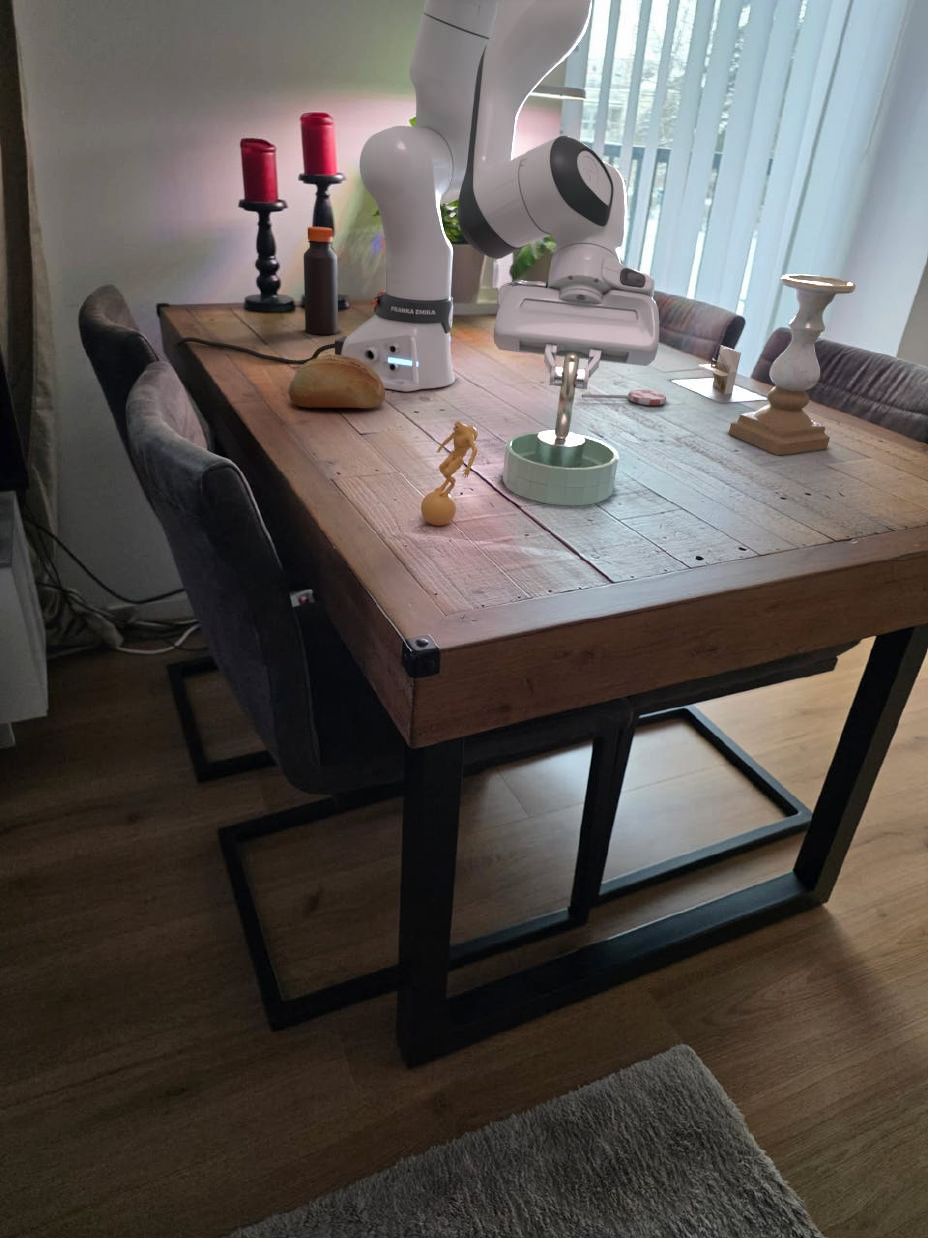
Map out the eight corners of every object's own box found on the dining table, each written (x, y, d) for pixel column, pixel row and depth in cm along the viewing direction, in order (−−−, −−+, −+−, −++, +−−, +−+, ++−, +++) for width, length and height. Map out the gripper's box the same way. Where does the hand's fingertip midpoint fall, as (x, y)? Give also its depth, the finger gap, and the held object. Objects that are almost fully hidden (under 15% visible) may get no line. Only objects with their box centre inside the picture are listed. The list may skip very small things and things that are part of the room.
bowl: (496, 500, 105) (500, 461, 103) (508, 462, 118) (512, 426, 115) (611, 513, 104) (618, 475, 102) (612, 473, 116) (617, 438, 114)
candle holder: (777, 455, 128) (821, 287, 116) (726, 433, 136) (763, 273, 124) (828, 448, 132) (876, 286, 121) (776, 427, 141) (816, 273, 129)
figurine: (409, 511, 100) (413, 411, 94) (456, 507, 103) (463, 408, 97) (434, 541, 94) (440, 435, 88) (484, 535, 96) (493, 431, 90)
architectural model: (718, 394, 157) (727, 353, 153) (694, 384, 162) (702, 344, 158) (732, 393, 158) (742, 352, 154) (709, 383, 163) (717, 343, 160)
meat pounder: (532, 465, 107) (546, 355, 100) (536, 450, 112) (549, 344, 105) (580, 471, 106) (597, 361, 99) (582, 455, 112) (598, 349, 105)
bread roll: (386, 418, 131) (387, 365, 127) (287, 415, 129) (285, 362, 125) (383, 400, 139) (384, 350, 135) (290, 397, 137) (288, 346, 133)
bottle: (335, 336, 177) (334, 231, 167) (302, 334, 177) (299, 228, 167) (340, 329, 183) (339, 227, 173) (308, 327, 183) (305, 225, 172)
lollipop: (577, 387, 150) (658, 389, 152) (576, 393, 150) (657, 395, 153) (587, 398, 144) (671, 400, 146) (586, 404, 145) (670, 406, 147)
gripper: (500, 262, 105) (483, 360, 102) (667, 279, 103) (655, 380, 100) (500, 294, 111) (484, 388, 108) (658, 310, 109) (647, 407, 106)
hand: (568, 384), depth 104 cm, fingers closed on meat pounder
